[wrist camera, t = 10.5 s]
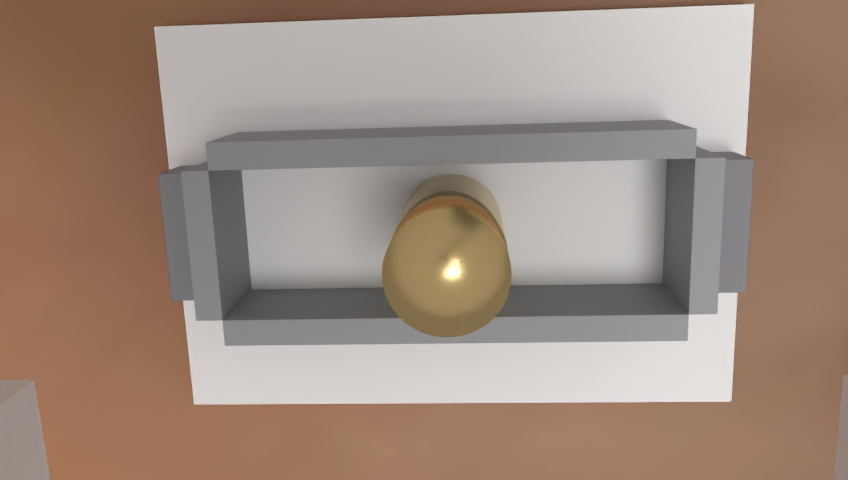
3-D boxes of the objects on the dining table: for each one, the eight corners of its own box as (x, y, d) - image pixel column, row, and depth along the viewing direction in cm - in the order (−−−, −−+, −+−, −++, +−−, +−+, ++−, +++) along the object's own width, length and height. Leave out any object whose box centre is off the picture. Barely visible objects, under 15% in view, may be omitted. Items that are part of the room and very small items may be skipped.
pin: (399, 176, 32) (376, 215, 24) (499, 171, 31) (509, 209, 24) (406, 272, 33) (386, 339, 25) (503, 268, 32) (513, 335, 25)
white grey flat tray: (163, 27, 32) (108, 22, 27) (745, 5, 30) (797, -4, 26) (201, 395, 36) (158, 448, 31) (723, 391, 34) (765, 447, 29)
